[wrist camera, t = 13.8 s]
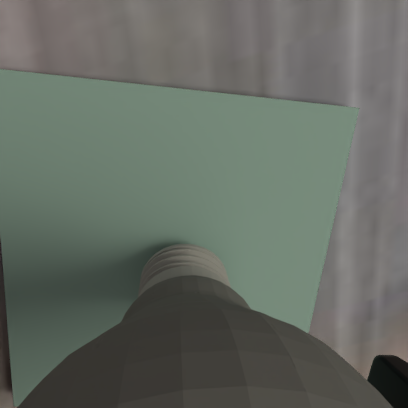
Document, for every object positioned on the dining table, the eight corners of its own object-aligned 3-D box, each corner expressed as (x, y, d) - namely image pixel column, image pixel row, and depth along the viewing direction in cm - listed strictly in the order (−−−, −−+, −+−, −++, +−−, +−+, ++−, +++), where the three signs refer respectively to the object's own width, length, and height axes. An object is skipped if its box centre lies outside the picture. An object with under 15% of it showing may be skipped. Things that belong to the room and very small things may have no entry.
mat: (286, 393, 14) (291, 406, 13) (21, 392, 13) (13, 406, 12) (349, 107, 10) (359, 108, 10) (-2, 69, 9) (-13, 67, 9)
